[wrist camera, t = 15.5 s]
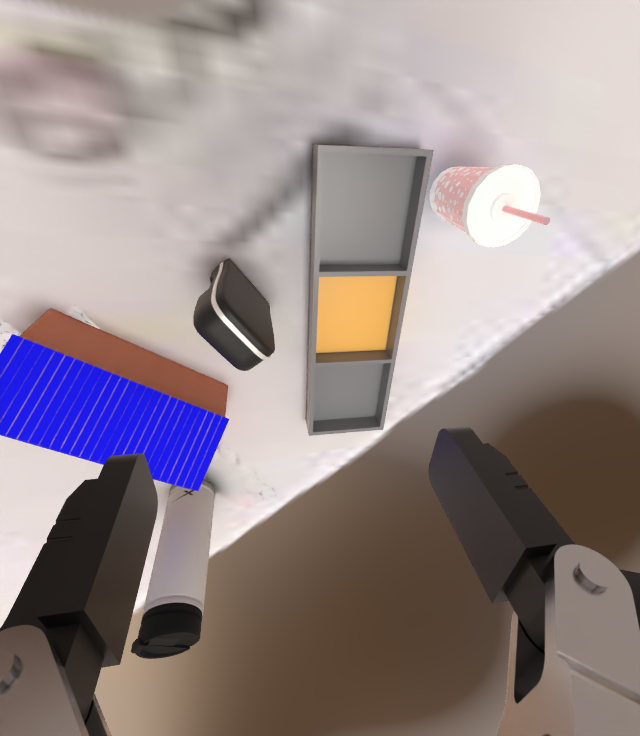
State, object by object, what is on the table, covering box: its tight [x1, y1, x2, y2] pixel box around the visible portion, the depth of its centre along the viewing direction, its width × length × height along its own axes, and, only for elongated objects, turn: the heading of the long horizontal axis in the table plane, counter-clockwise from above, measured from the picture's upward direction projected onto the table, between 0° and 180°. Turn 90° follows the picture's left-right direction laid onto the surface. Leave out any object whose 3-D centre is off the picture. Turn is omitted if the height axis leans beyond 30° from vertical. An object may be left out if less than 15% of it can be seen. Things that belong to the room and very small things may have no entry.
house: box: [0, 308, 229, 491], centre depth 37 cm, size 12×20×12 cm, turn 54°
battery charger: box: [194, 259, 275, 371], centre depth 33 cm, size 7×4×11 cm, turn 35°
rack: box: [306, 144, 433, 436], centre depth 40 cm, size 32×10×3 cm, turn 178°
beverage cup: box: [429, 164, 550, 248], centre depth 30 cm, size 6×6×14 cm
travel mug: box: [131, 479, 215, 659], centre depth 45 cm, size 6×7×20 cm
